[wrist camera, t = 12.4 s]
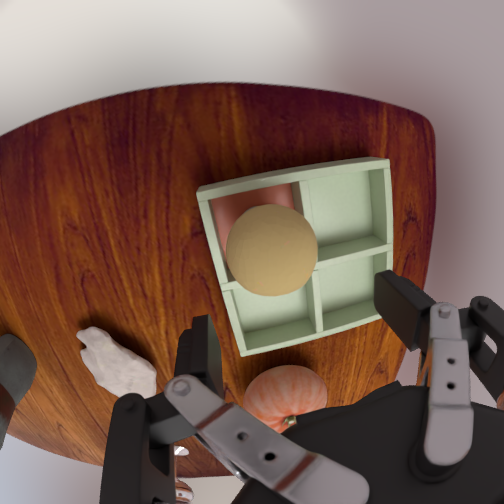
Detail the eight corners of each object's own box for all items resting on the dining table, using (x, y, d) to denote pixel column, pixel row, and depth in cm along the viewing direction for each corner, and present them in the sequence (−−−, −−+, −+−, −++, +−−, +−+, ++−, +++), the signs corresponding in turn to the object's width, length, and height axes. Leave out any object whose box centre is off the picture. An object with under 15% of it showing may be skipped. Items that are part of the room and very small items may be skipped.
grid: (198, 186, 25) (195, 192, 21) (370, 156, 25) (389, 159, 22) (238, 336, 31) (241, 357, 28) (375, 300, 32) (389, 315, 28)
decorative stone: (68, 315, 28) (110, 388, 35) (53, 335, 25) (103, 407, 31) (140, 321, 27) (173, 397, 34) (128, 345, 24) (168, 419, 31)
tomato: (236, 403, 36) (241, 448, 28) (245, 350, 32) (253, 401, 25) (306, 400, 37) (320, 441, 30) (327, 350, 34) (349, 393, 26)
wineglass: (164, 439, 39) (160, 495, 27) (198, 449, 40) (200, 503, 29) (154, 452, 40) (149, 502, 29) (185, 460, 42) (185, 509, 31)
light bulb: (225, 257, 27) (230, 317, 17) (221, 191, 24) (224, 219, 15) (290, 253, 27) (325, 308, 18) (292, 189, 25) (334, 214, 16)
